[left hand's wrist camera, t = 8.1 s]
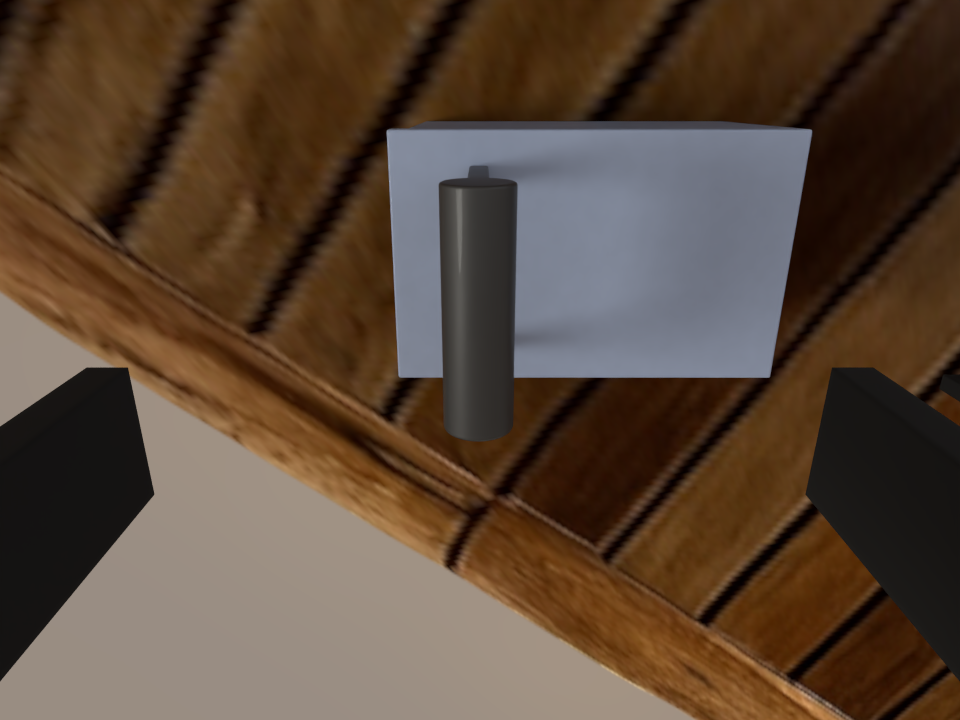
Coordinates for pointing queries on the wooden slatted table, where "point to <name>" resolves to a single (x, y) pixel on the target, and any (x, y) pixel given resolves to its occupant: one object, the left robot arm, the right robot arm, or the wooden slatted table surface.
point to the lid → (587, 256)
